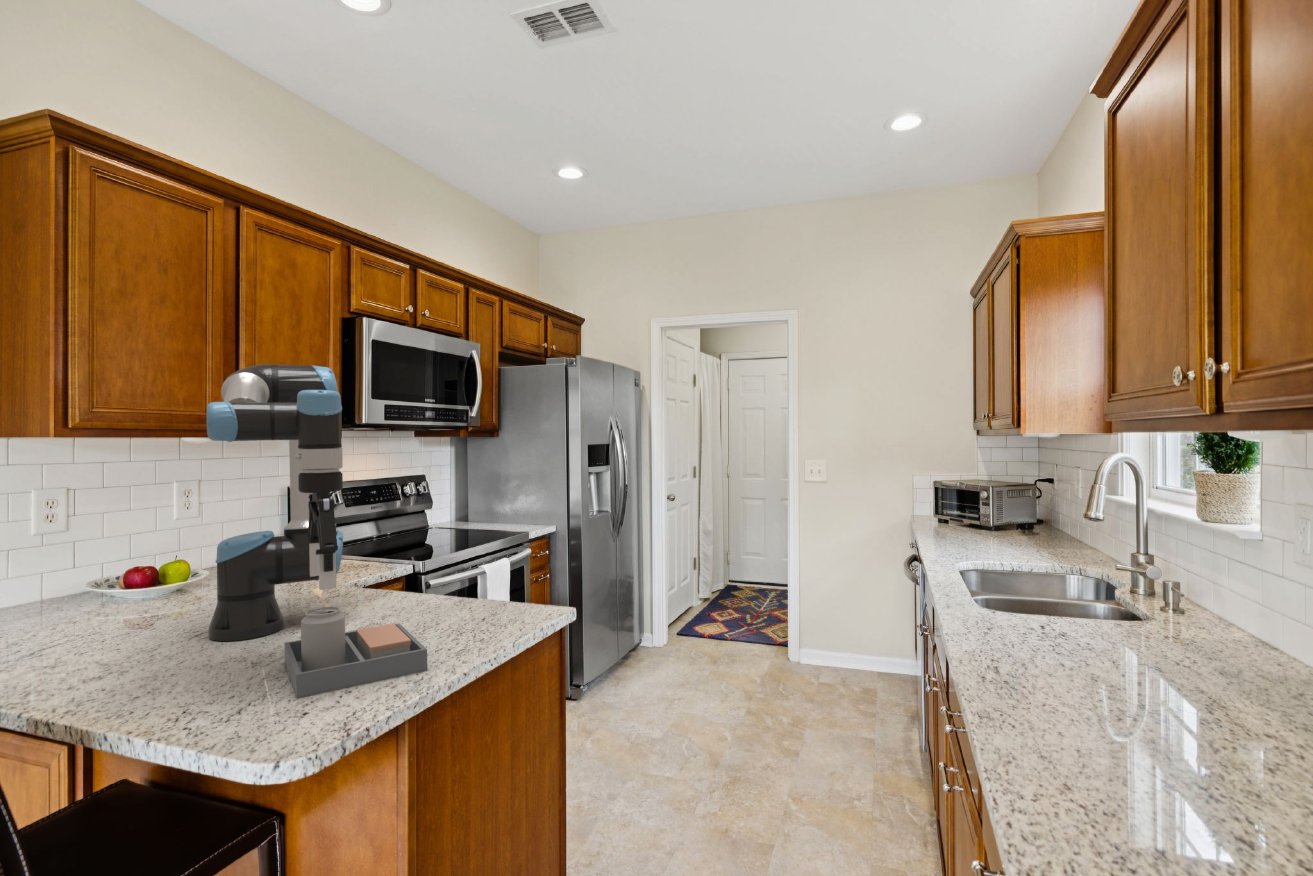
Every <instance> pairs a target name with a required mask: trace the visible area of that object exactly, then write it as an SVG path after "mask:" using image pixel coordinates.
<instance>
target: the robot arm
mask: <svg viewBox="0 0 1313 876" xmlns="http://www.w3.org/2000/svg"><path fill="white" fill-rule="evenodd" d="M220 395H221V398H222V401H214V402H213V401H212V402H209V403H208V405H207V407H206V433H207V437H208V439H209V440H211V441H215V442H219V441H221V442H228V443H231V442H232V443H233V442H247V441H250V442H251V441H288V447H289V450H288V451H289V493H290V494H289V498H290V500H289V501H290V504H289V505H290V520H289V523H287V525H286V526H284V528H283V535H279V536H276V535H275V533H274V531H272V530H262V531H254V532H249V533H243V534H239V535H236V536H232V537H228V538H226V539H223V540H221V541H220V542H219V543H218V545H217V547H216V559H215V564H216V594H217V595H216V596H217V598H216V599H217V602H216V607H215V609H214V612H213V615H212V617H211V622H210V624H209V625H208V638H209V639H210V640H212V641H216V642H217V641H218V642H235V641H243V640H251V639H255V638H260V637H264V636H269V635H271V634H274V633H276V632H279V631H280V630H282V629H284V626H285V625H284V619H285V618H284V615H283V613H282V610H281V608H280V606H279V602H278V601H277V598H276V595H275V593H276V591H275V589H276V587H275V586H276V585H283V584H292V583H293V584H294V583H302V582H310V581H316V582H317V581H319V582H318V586H319V589H318V590H319V591H323V590H330V589H331V590H333V589H336V588H337V574H339V571H340V567H341V563H342V557H343V549H344V533H343V531H341V530H337V523H336V517H335V499H334V497H333V498H332V497H331V495H330V494H331V492H332V493H333V492H334V493H335V492H340V491H342V490H343V489H344V488H343V484H344V481H343V476H344V475H343V473H342V472H341V471H340V470H341V469H342V468H344V467H343V465H344V463H343V459H344V458H343V448H342V447H343V445H342V411H343V406H342V399H341V398H342V395H341V394H340V392H339V388H338V383H337V379H336V375H335V373H334V371H333V370H332V369H331V368H330V367H327V366H319V365H314V364H313V365H312V364H311V365H307V364H305V365H304V364H303V365H302V364H301V365H300V364H297V365H296V364H270V363H265V364H257V365H256V364H255V365H251V366H247V367H243V368H241V369H238V370H236V371H235V372H233V373H231V374H230V375H228V376H227V377H226V378H225V379H224V381H223V383H222V386H221V388H220Z"/></svg>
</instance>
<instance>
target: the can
mask: <svg viewBox="0 0 1313 876" xmlns="http://www.w3.org/2000/svg"><path fill="white" fill-rule="evenodd" d="M341 610H342V608H341V607H339V606H335V605H333V606H332V605H329V606H327V605H326V606H321V607H320V606H319V607H314V608H310V609H308V610H306V611H304V613H303V614H304V615H305V616H304V617H303V618H302V619H301V620H300V635H301V636H300V640H301V655H302V672H306V671H311V670H317V669H322V668H327V667H332V666H337V665H342V664H346V650H345V632H346V620H345V619H346V615H345V614H344V613H343V612H342V611H341Z"/></svg>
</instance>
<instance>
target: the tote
mask: <svg viewBox="0 0 1313 876" xmlns="http://www.w3.org/2000/svg"><path fill="white" fill-rule="evenodd" d="M394 624H395V625H396V626H397V627H398V628H399V629H400V630H401V631H402V632H403V633H404V634H405V635H406V636H407V637H408V638H409V639H410V640H411V644H410V651H409V652H404V653H399V654H394V655H389V656H383V657H378V658H373V659H368V660H365V659H364V658H363V657H362V655H361V654H360V653H359V651H358V643H357V634H356V630H353V631H345V650H346V664H342V665H337V666H332V667H327V668H322V669H317V670H311V671H306V672H302V655H301V639H299V640H298V639H297V640H294V641H293V640H292V641H287V642H284V643H283V645H284V646H283V647H284V654H283V655H284V665H285V667H286V671H287V674H288V677H289V680H290V683H291V687H292V689H293V691H294V694H295V697H296V699H300V698H301V699H302V698H304V697H309V696H314V695H319V694H324V693H329V692H333V691H336V690H337V691H338V690H343V689H347V688H351V687H356V686H360V685H365V684H371V683H374V682H375V683H376V682H379V681H385V680H390V679H394V678H399V677H403V676H407V675H413V674H418V673H421V672H426V671H427V672H428V649H427V648H426V647H425V646H424V645H423V644H422V643H421V642H420V641H419V640H418V639H417V638H415V636H414V635H413V634H412V633H411V632H409V631H408V629H406V628H405V627H404V626H403V625H402V624H401V623H394Z"/></svg>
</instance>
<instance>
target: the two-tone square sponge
mask: <svg viewBox="0 0 1313 876" xmlns="http://www.w3.org/2000/svg"><path fill="white" fill-rule="evenodd" d="M395 624H396V623H388V624H387V623H386V624H382V625H381V624H380V625H376V626H371V627H365V628H358V629H355V631H356V634H357V643H358V651H359V653H360V654H361V655H362V657H363V658H364V659H365V660H368V659H373V658H378V657H383V656H389V655H394V654H399V653H404V652H409V651H410V644H411V640H410V639H409V638H408V637H407V636H406V635H405V634H404V633H403V632H402V631H401V630H400V629H399V628H398V627H397V626H396V625H395Z"/></svg>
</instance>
